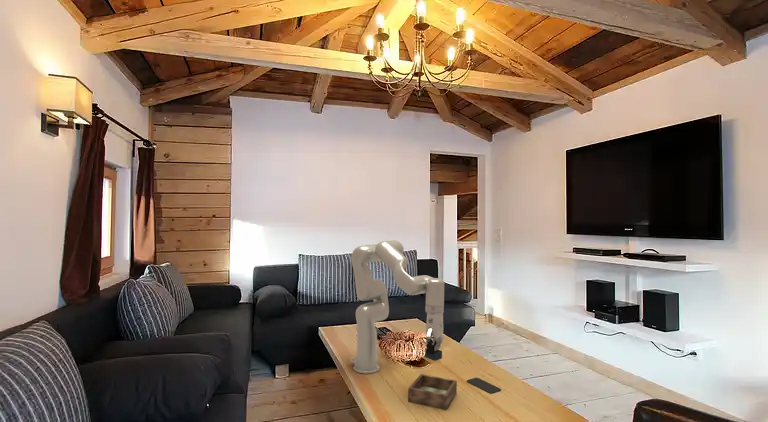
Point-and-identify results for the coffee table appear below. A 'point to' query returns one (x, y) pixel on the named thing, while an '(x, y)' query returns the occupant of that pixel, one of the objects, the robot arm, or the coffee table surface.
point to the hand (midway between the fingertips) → (433, 350)
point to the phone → (483, 385)
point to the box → (432, 391)
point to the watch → (437, 353)
